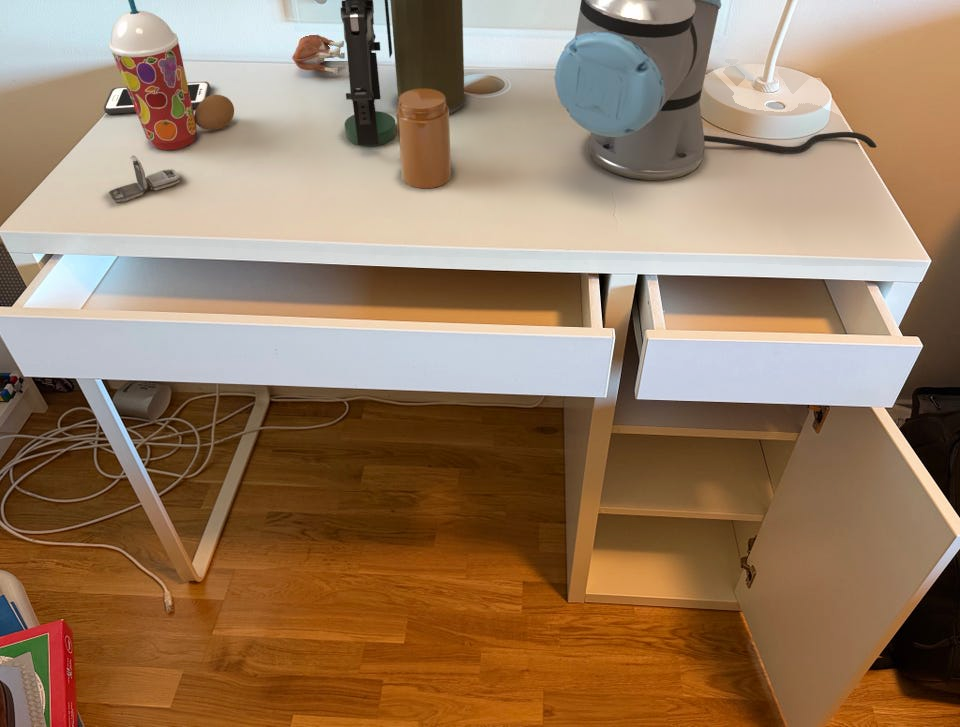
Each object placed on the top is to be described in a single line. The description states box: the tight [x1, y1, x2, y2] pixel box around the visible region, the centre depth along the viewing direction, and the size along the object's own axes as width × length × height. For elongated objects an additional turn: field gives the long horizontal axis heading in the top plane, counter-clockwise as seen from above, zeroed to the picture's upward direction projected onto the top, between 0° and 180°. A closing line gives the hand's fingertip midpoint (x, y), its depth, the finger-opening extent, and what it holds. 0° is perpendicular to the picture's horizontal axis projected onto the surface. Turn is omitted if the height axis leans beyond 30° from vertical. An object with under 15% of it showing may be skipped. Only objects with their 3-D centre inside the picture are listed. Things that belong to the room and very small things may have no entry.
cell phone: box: [103, 81, 211, 115], centre depth 114 cm, size 8×15×1 cm, turn 100°
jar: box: [396, 88, 452, 189], centre depth 95 cm, size 6×6×10 cm
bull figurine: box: [291, 34, 346, 74], centre depth 122 cm, size 4×13×8 cm
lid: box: [343, 110, 397, 147], centre depth 106 cm, size 7×7×2 cm
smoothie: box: [108, 0, 198, 151], centre depth 98 cm, size 8×8×20 cm
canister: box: [384, 0, 467, 115], centre depth 107 cm, size 11×10×20 cm
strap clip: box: [108, 154, 181, 203], centre depth 95 cm, size 8×3×4 cm, turn 126°
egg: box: [194, 94, 235, 131], centre depth 107 cm, size 4×4×6 cm
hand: (369, 120), depth 105 cm, fingers open, 13 cm apart
